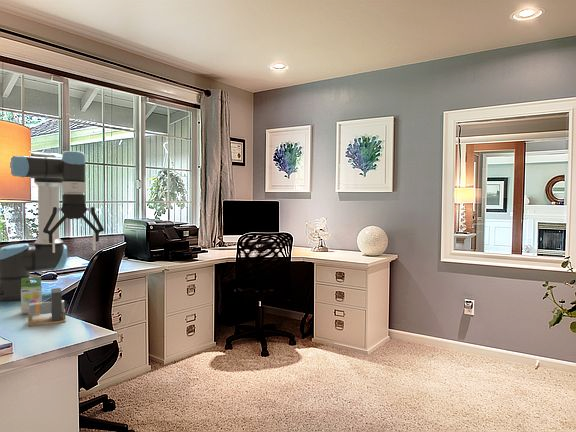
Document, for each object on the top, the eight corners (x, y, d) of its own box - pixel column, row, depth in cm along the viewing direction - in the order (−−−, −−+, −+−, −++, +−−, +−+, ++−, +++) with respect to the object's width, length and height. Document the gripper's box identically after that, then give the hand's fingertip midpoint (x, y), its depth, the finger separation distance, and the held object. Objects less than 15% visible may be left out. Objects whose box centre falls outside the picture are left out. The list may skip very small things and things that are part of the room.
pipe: (29, 313, 156) (29, 302, 155) (63, 309, 161) (63, 299, 161) (29, 316, 152) (29, 305, 152) (64, 312, 158) (64, 301, 157)
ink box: (21, 314, 165) (20, 279, 164) (21, 312, 168) (21, 278, 167) (42, 312, 168) (41, 278, 168) (42, 310, 172) (41, 276, 171)
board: (28, 320, 157) (28, 311, 157) (64, 316, 163) (64, 308, 163) (28, 326, 150) (28, 317, 150) (65, 321, 156) (65, 313, 156)
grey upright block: (51, 315, 161) (51, 288, 160) (60, 314, 162) (60, 287, 162) (52, 320, 154) (52, 292, 154) (61, 319, 155) (61, 292, 155)
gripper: (34, 193, 150) (35, 254, 151) (111, 194, 162) (111, 250, 163) (35, 193, 156) (35, 251, 157) (108, 194, 168) (109, 248, 169)
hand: (74, 251), depth 160 cm, fingers open, 13 cm apart
